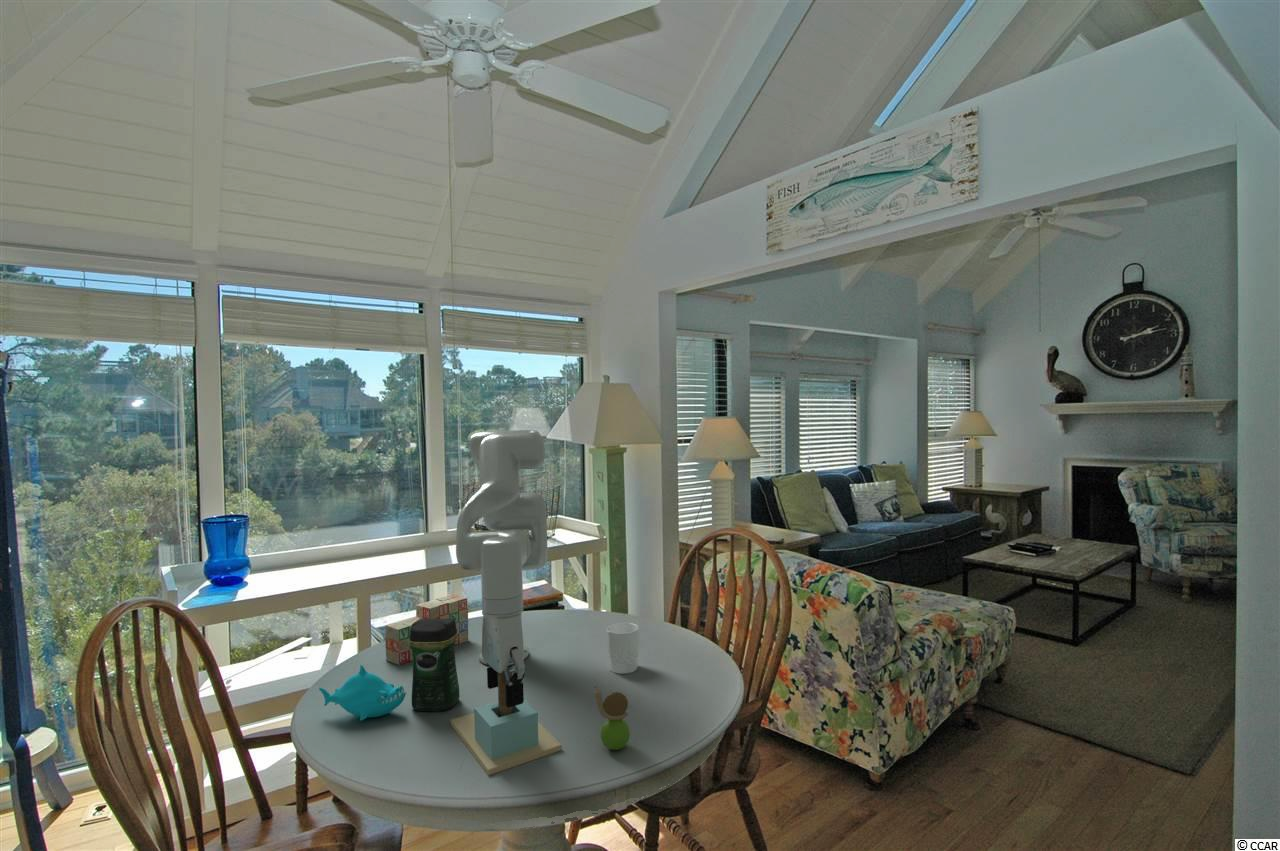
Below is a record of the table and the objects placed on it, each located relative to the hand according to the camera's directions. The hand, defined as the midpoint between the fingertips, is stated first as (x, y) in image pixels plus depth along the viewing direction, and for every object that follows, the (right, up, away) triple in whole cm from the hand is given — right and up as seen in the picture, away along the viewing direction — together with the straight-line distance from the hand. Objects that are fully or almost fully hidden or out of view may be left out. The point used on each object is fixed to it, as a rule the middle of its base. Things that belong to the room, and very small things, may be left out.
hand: (505, 695), depth 116 cm
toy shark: (-33, -11, +14) cm, 37 cm away
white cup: (+21, -9, +35) cm, 42 cm away
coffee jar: (-19, -10, +19) cm, 28 cm away
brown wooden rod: (0, -9, 0) cm, 9 cm away
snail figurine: (+20, -9, -1) cm, 22 cm away
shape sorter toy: (-1, -10, +4) cm, 11 cm away
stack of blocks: (-32, -10, +51) cm, 61 cm away
